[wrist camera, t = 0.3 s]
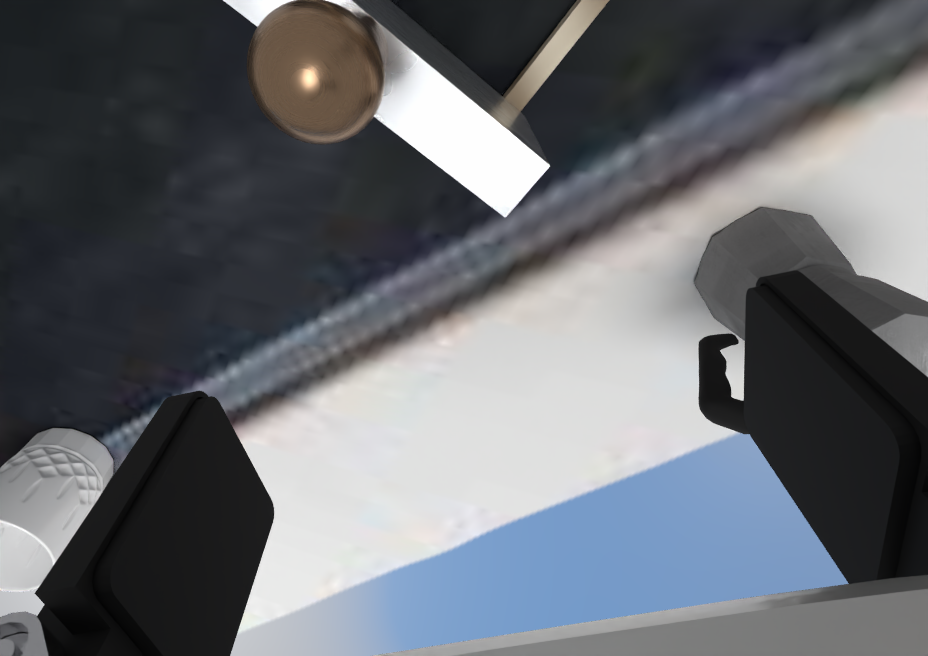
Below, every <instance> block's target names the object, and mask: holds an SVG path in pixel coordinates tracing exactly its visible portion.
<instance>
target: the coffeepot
mask: <svg viewBox="0 0 928 656" xmlns="http://www.w3.org/2000/svg"><path fill="white" fill-rule="evenodd" d="M793 270H798V271H799V272H801V273H803V274H804V275H805V276H806V277H807V278H809V279H810V280H811V281H812V282H813V283H815V284H816V285H817V286H818V287H819V288H821V289H822V290H823V291H824V292H826V293H827V294H828V295H829V296H830V297H832V298H833V299H834V300H835V301H836V302H838V303H839V304H840V305H841V306H842V307H844V308H845V309H846V310H847V311H849V312H850V313H851V314H852V315H853V316H855V317H856V318H857V319H858V320H859V321H861V322H862V323H863V324H864V325H865V326H867V327H868V328H869V329H870V330H872V331H873V332H874V333H875V334H876V335H878V336H879V337H880V338H881V339H882V340H884V341H885V342H886V343H887V344H888V345H890V346H891V347H892V348H893V349H895V350H896V351H897V352H898V353H899V354H901V355H902V356H903V357H904V358H905V359H907V360H908V361H909V362H910V363H911V364H913V365H914V366H915V367H916V368H918V369H919V370H920V371H921V372H922V373H924V374H925V375H926V376H927V377H928V302H927V301H924V300H922V299H920V298H918V297H915V296H913V295H911V294H909V293H906V292H904V291H902V290H900V289H897V288H895V287H893V286H891V285H889V284H886V283H884V282H882V281H880V280H877V279H874V278H869V277H864V276H859V275H856V273H855V271H854V269H853V267H852V266H851V264H850V263H849V261H848V260H847V259H846V258H845V256H844V255H843V254H842V253H841V251H840V250H839V249H838V248H837V246H836V245H835V244H834V243H833V241H832V240H831V239H830V238H829V236H828V235H827V234H826V233H825V232H824V230H823V229H822V228H821V227H820V225H819V224H818V223H817V222H816V220H815V219H814V218H813V217H812V216H811V215H805V214H799V213H795V212H791V211H786V210H775V209H768V208H760V209H758V210H756V211H754V212H752V213H750V214H748V215H746V216H744V217H742V218H740V219H738V220H736V221H734V222H733V223H731V224H730V225H729V226H727V227H726V228H724V229H723V230H722V231H721V232H720V233H718V234H717V235H715V236H713V237H712V239H711V241H710V243H709V245H708V247H707V249H706V251H705V253H704V255H703V257H702V259H701V263H700V266H699V270H698V275H697V277H696V280H695V282H694V284H695V285H696V287H697V289H698V291H699V292H700V294H701V296H702V298H703V300H704V301H705V303H706V305H707V306H708V308H709V310H710V311H711V313H712V315H713V317H714V318H715V319H716V320H718V321H719V322H720V323H722V324H723V325H724V326H726V327H727V328H728V329H730V330H731V331H732V332H734V333H735V334H736V335H738V336H739V337H740V338H742V339H743V340H744V341H745V309H746V293H747V290H748V289H749V288H753V287H756V282H757V280H758V279H759V278H760V277H764V276H768V275H773V274H778V273H783V272H788V271H793ZM736 344H738V339H737V338H736V336H735V335H733V334H717V335H710V336H707V337H704V338H703V339H701V340H700V342H699V407H700V410H701V412H702V413H703V414H704V416H705V417H706V418H707V419H708V420H710V421H711V422H713V423H715V424H718V425H720V426H723V427H726V428H729V429H732V430H734V431H737V432H740V433H743V434H749V432H748V430H747V427H746V424H745V420H744V401H741V400H737V399H734V398H732V397H731V387H730V384H729V381H728V379H727V377H726V375H725V372H726V360H725V358H724V356H723V355H722V354H721V352H720V350H721V349H723V348H726V347H728V346H731V345H736Z"/></svg>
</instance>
